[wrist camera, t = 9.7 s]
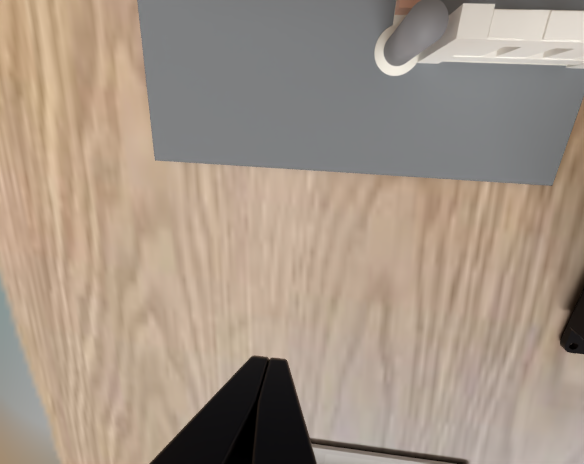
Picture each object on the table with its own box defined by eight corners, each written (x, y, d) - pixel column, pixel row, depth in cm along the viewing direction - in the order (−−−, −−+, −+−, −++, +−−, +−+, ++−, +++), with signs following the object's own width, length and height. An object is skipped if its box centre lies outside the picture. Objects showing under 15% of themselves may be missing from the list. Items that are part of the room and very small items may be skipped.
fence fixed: (597, 44, 14) (727, 7, 9) (588, 68, 14) (710, 45, 10) (421, 39, 14) (463, 3, 10) (416, 63, 15) (456, 38, 10)
